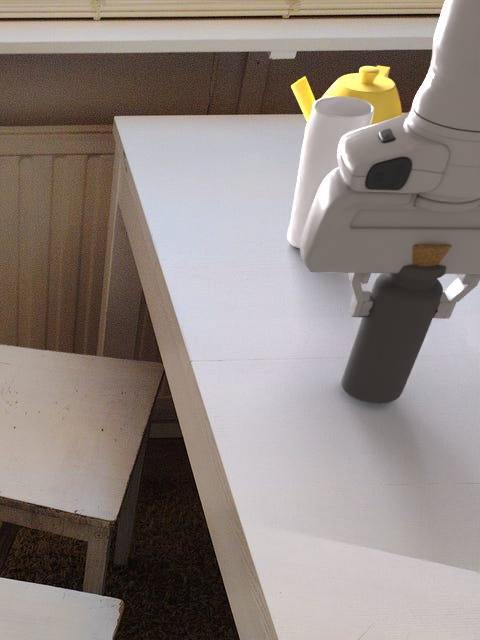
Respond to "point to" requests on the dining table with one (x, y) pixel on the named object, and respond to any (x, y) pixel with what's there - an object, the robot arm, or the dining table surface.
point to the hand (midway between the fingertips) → (397, 315)
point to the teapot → (358, 92)
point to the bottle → (395, 327)
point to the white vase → (323, 151)
